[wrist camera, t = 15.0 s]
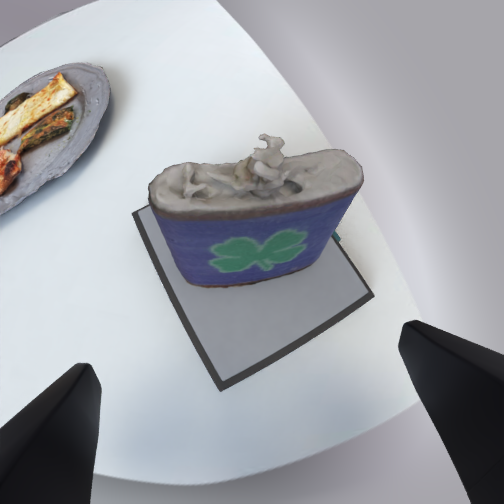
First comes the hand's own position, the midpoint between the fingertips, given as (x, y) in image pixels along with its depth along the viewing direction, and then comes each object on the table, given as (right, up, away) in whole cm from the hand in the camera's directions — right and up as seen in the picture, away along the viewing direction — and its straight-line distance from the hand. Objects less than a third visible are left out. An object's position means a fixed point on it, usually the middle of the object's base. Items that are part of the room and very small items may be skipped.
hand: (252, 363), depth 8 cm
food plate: (-27, +16, +19) cm, 37 cm away
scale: (0, +2, +15) cm, 15 cm away
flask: (0, +2, +12) cm, 13 cm away
